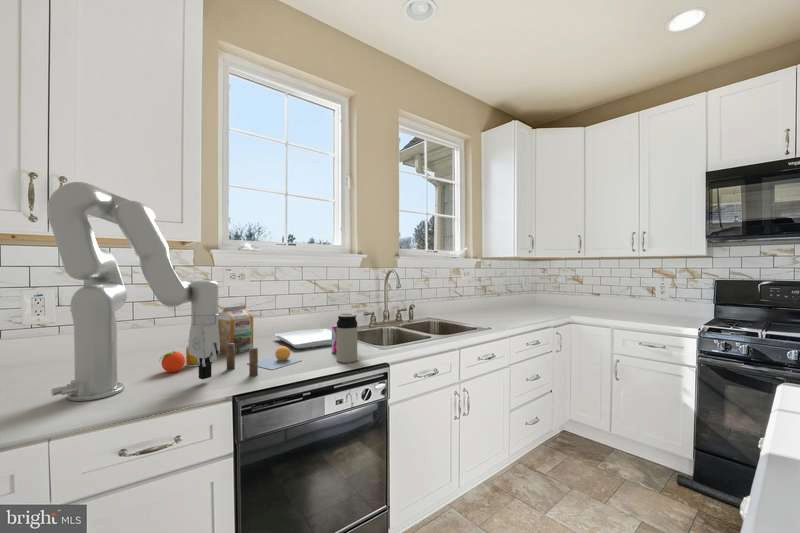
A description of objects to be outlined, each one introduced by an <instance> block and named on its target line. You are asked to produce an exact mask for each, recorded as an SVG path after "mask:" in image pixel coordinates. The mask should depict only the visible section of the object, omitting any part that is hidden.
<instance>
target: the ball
mask: <svg viewBox="0 0 800 533" xmlns="http://www.w3.org/2000/svg"><path fill="white" fill-rule="evenodd" d="M274 356H276V358H277V359H278V360H280V361H285V360H287V359H288V358H290V357H291V350H290V348H289V347H287V346H285V345H283V346H279V347H277V349H276V350H275V354H274Z"/></svg>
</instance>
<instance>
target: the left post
mask: <svg viewBox="0 0 800 533" xmlns="http://www.w3.org/2000/svg"><path fill="white" fill-rule="evenodd" d="M235 357H236V354H235V343H228V344H227V354H226V370H227V371H234V370H235V368H236V366H235V364H236V358H235Z"/></svg>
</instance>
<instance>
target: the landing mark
mask: <svg viewBox="0 0 800 533" xmlns="http://www.w3.org/2000/svg"><path fill="white" fill-rule="evenodd" d="M302 361H303V360H301V359H297V358H292V357H289V358H288V359H287V360H285V361H280V360H278V359H277V358H276V356H275V355H272V356H269V357H266V358H262V359H258V368H261V369H265V368H266V370H271V371H274V370H277V369H280V367H281V368H283V367H287V366H290V365H293V363H294V364H297V363H300V362H302ZM296 362H297V363H296ZM246 365H249V362H247V363H246Z"/></svg>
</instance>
